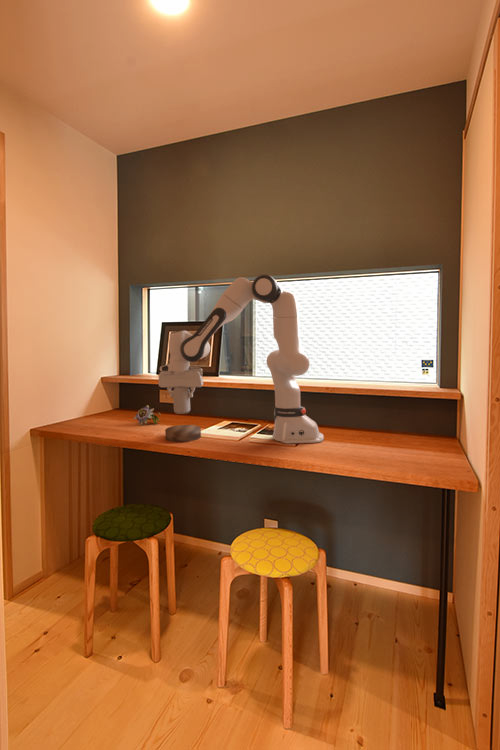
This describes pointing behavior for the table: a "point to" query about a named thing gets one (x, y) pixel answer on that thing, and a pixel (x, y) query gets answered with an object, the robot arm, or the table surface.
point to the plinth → (183, 433)
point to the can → (181, 400)
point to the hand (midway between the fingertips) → (181, 397)
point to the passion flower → (146, 415)
